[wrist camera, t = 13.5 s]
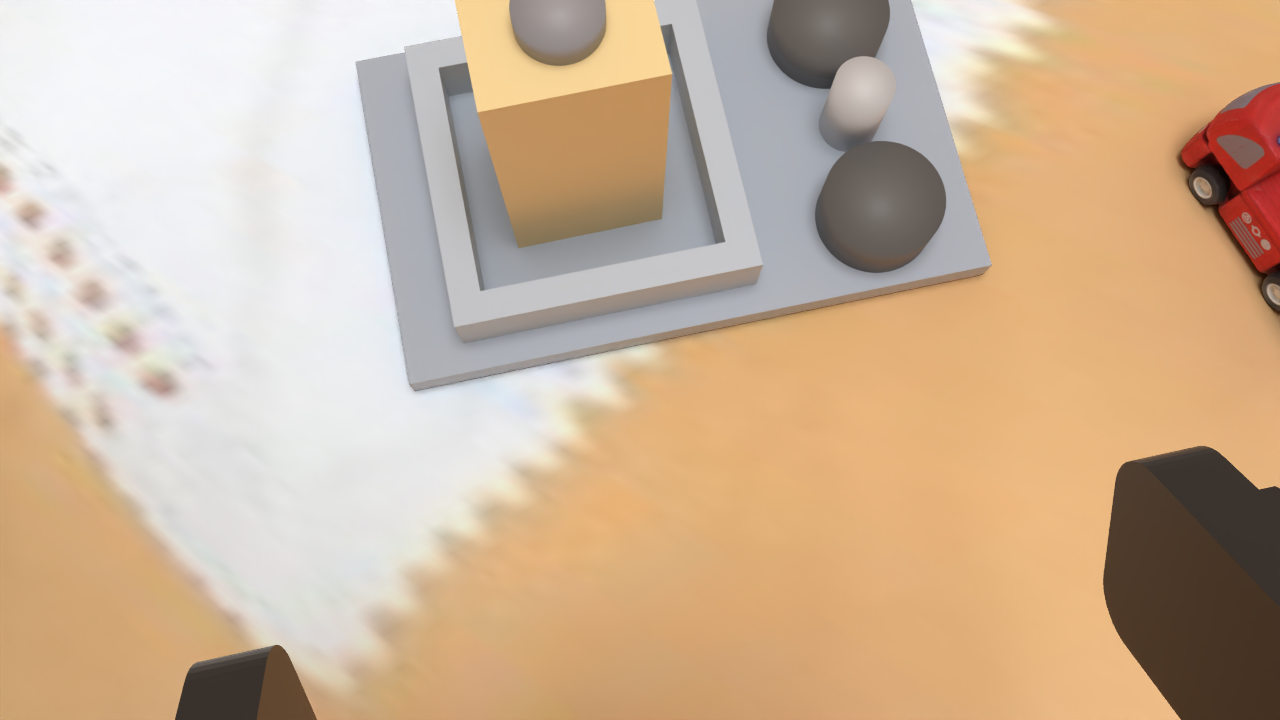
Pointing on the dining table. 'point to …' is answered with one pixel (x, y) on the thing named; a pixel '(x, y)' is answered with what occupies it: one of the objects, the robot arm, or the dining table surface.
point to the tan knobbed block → (571, 110)
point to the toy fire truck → (1244, 177)
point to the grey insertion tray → (680, 192)
